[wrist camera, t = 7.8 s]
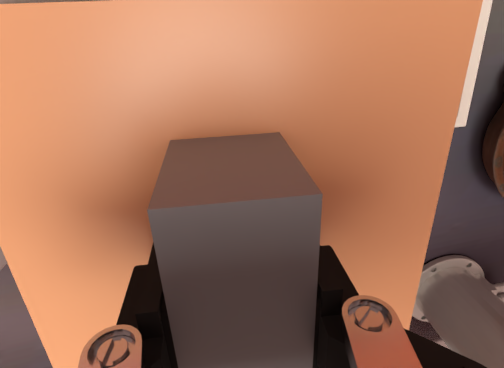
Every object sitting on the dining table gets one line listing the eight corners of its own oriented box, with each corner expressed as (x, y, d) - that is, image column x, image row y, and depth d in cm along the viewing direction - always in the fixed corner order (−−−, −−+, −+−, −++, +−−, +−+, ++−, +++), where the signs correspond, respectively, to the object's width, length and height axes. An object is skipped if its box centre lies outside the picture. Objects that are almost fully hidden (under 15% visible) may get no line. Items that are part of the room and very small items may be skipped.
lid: (433, -5, 12) (683, -41, 6) (379, 317, 19) (466, 463, 12) (-38, 12, 11) (-401, -14, 4) (87, 355, 17) (18, 543, 11)
